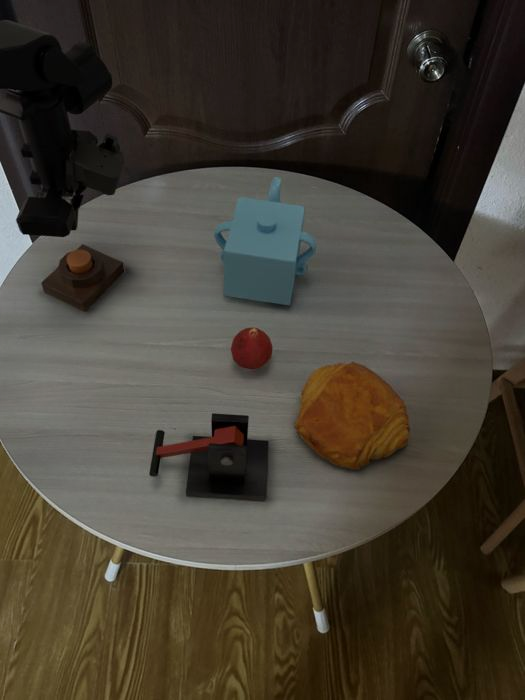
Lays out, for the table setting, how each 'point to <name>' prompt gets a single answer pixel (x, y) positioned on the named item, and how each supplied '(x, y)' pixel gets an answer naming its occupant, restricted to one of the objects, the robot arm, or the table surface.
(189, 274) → the table surface
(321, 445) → the croissant
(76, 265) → the button
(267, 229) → the teapot
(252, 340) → the onion
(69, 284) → the button block
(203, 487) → the bracket
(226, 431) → the lever
